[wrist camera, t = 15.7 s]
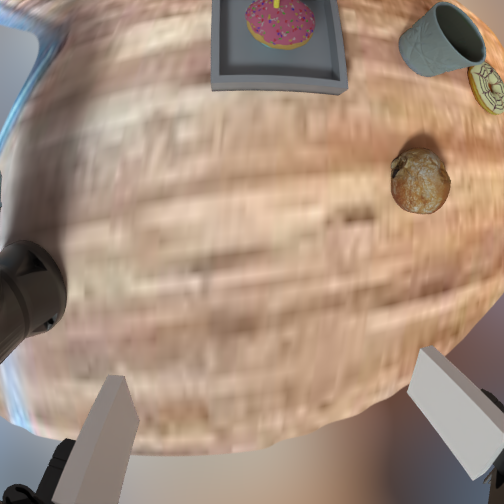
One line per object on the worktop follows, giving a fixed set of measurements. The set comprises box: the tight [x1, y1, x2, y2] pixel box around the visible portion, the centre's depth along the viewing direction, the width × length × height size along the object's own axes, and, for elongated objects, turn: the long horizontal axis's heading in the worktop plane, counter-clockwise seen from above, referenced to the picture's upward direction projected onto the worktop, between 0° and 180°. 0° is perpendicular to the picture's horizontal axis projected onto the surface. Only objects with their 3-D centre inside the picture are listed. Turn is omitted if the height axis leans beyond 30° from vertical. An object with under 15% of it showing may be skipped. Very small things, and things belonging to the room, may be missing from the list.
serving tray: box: [211, 0, 348, 95], centre depth 31 cm, size 17×17×4 cm
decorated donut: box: [468, 62, 504, 115], centre depth 34 cm, size 10×11×4 cm
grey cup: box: [399, 2, 486, 77], centre depth 28 cm, size 10×10×12 cm
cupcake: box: [245, 0, 315, 50], centre depth 26 cm, size 9×8×12 cm
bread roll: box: [391, 148, 451, 214], centre depth 37 cm, size 10×10×8 cm
